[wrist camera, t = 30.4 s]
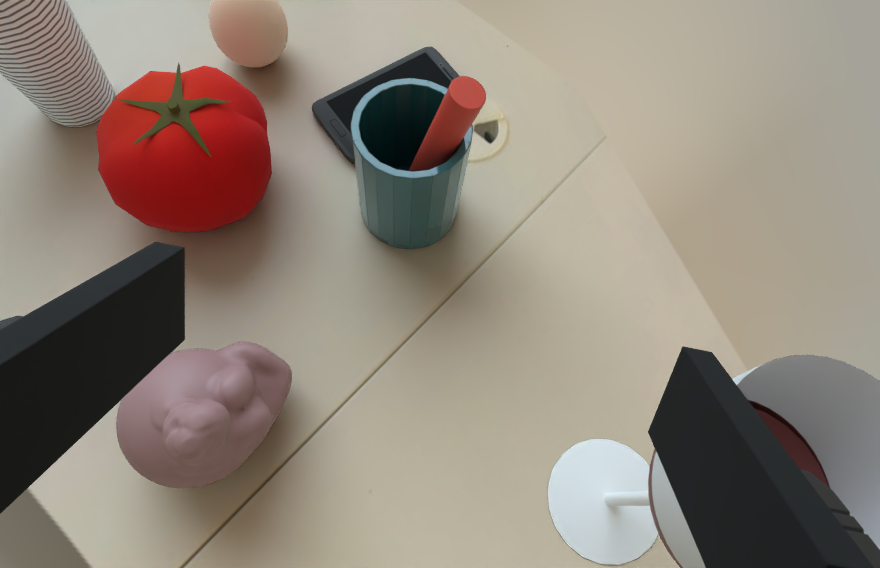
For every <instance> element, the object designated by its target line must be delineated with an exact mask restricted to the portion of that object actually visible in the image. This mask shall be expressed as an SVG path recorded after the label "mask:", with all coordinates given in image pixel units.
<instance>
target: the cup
mask: <svg viewBox="0 0 880 568" xmlns="http://www.w3.org/2000/svg"><path fill="white" fill-rule="evenodd" d="M0 73H1V74H2V75H3V76H4V77H5V78H6V79H8V80H9V81H10V82H11V83H12V84H13V85H14V86H15V87H16V88H17V89H18V90H19V91H21V92H22V93H23V94H24V95H25V96H26V97H27V98H28V99H29V100H30V101H31V102H32V103H34V104H35V105H36V106H37V107H38V108H39V109H40V110H41V111H42V112H43V113H44V114H45V115H47V116H48V117H49V118H50V119H51V120H52V121H53V122H55V123H58V124H60V125H63V126H66V127H82V126H86V125H89V124H92V123H95V122H96V121H98V120H99V119H101V117H102V115H103V114H104V112H105V111H106V110H107V108H108V107H109V106H110V104H111V103H112V102H113V100H114V95H115V94H114V91H113V88H112V85H111V83H110V81H109V79H108V78H107V76H106V74H105V72H104V70H103V68H102V66H101V65H100V63H99V61H98V59H97V57H96V55H95V53H94V51H93V50H92V48H91V46H90V44H89V42H88V40H87V38H86V37H85V35H84V33H83V31H82V29H81V27H80V25H79V23H78V22H77V20H76V18H75V16H74V14H73V12H72V10H71V9H70V7H69V5H68V3H67V1H66V0H0Z"/></svg>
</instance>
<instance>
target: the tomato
mask: <svg viewBox="0 0 880 568" xmlns="http://www.w3.org/2000/svg"><path fill="white" fill-rule="evenodd" d="M96 134H97V142H98V151H99V166H98V170H99V172H100V174H101V176H102V179H103V181H104V183H105V185H106V187H107V189H108V191H109V193H110V195H111V197H112V199H113V200H114V202H115V204H116V205H117V206H119V207H120V208H122V209H123V210H125V211H126V212H128V213H129V214H131V215H132V216H134V217H135V218H137V219H138V220H140V221H141V222H143V223H145V224H146V225H148V226H153V227H157V228H161V229H165V230H169V231H174V232H202V231H207V230H213V229H216V228H219V227H221V226H224V225H227V224H229V223H232V222H235V221H237V220H240V219H242V218H244V217H245V216H247V215H248V214H249V212H250V211H251V210H252V209H253V208H254V207H255V206H256V205H257V204H258V202H259V201H260V200H261V199H262V198H263V196H264V193H265V191H266V188H267V185H268V182H269V180H270V177H271V174H272V171H271V155H270V146H269V141H268V137H267V120H266V116H265V113H264V109H263V107H262V105H261V104H260V102H259V100H258V99H257V97H256V96H255V95H254V94H253V93H251V92H250V91H249V90H248V89H247V88H245V87H244V86H243V85H241V84H240V83H239V82H237V81H236V80H234V79H233V78H232V77H230V76H229V75H227V74H225V73H223V72H222V71H220V70H219V69H217V68H212V67H207V66H202V67H199V68H196V69H193V70H190V71H187V72H183V73H180V65H179V63H178V68H177V73H171V72H156V71H150V72H149V73H147V74H146V75H144V76H143V77H141V78H140V79H139V80H137V81H136V82H134V83H133V84H131V85H130V86H129V87H127V88H126V89H124V90H123V91H121V92H120V93H119V94H118V95H117V96H116V98H115V99H114V100H113V102H112V103H111V104H110V106H109V107H108V108H107V110H106V111H105V112H104V114H103V115H102V117H101V119H100V122H99V125H98V128H97V131H96Z"/></svg>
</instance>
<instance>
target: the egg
mask: <svg viewBox="0 0 880 568" xmlns="http://www.w3.org/2000/svg"><path fill="white" fill-rule="evenodd" d="M209 22H210V29H211V32H212V35H213V38H214V40H215V42H216V44H217V45H218V47H219V48H220V49H221V51H222V52H223V53H224V54H225V55H226V56H227V57H228V58H230V59H231V60H232V61H234V62H236V63H238V64H240V65H243V66H247V67H253V68H254V67H263V66H266V65H268V64H270V63H272V62H274V61H275V60H276V59H277V58H278V57H279V56H280V55H281V53H282V52H283V50H284V48H285V46H286V43H287V37H288V27H287V21H286V18H285V14H284V11H283V9H282V8H281V6H280V4H279V2H278V0H212V1H211V5H210V11H209Z"/></svg>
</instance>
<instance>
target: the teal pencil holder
mask: <svg viewBox="0 0 880 568" xmlns="http://www.w3.org/2000/svg"><path fill="white" fill-rule="evenodd" d="M447 90H448V89H447V88H446V87H443V86H441V85H439V84H436V83H434V82H432V81H429V80H422V79H415V78H406V79H396V80H391V81H389V82H386V83H383V84H381V85H378V86H377V87H375V88H373V89H372V90H371V91H369V92H368V93H367V94H365V95H364V96H363V97H362V99H361V100H360V102H359V103H358V105H357V106H356V108H355V109H354V112H353V116H352V121H351V135H352V143H353V152H354V160H355V168H356V177H357V185H358V193H359V201H360V208H361V214H362V218H363V220H364V222H365V224H366V226H367V228H368V229H369V230H370V231H371V233H372V234H373V235H374V236H376V237H377V238H378V239H380V240H381V241H383V242H385V243H386V244H389V245H391V246H394V247H398V248H405V249H414V248H421V247H425V246H428V245H430V244H432V243H434V242H436V241H438V240H439V239H441V238H442V237H443V236H444V235H445V234H446V233H447V232H448V231H449V229H450V228H451V226H452V225H453V222H454V220H455V217H456V214H457V209H458V204H459V199H460V195H461V190H462V185H463V180H464V175H465V171H466V166H467V161H468V156H469V151H470V146H471V141H472V133H473V126H472V125H471V126H470V128H469V130H468V131H467V133H466V135H465V136H464V138H463V140H462V141H461V143H460V145H459V146H458V148H457V150H456V151H455V153H454V155H453V156H452V157H451V158H450V159H449V160H448V161H447V162H446V163H444V164H441V165H439V166H437V167H434V168H432V169H430V170H422V171H414V172H412V171H409V169H410V167H411V165H412V163H413V160H414V158H415V156H416V154H417V152H418V150H419V148H420V146H421V144H422V142H423V140H424V138H425V136H426V133H427V131H428V129H429V127H430V125H431V123H432V121H433V119H434V117H435V115H436V113H437V111H438V109H439V107H440V104H441V102H442V100H443V98H444V96H445V94H446V92H447Z"/></svg>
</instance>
